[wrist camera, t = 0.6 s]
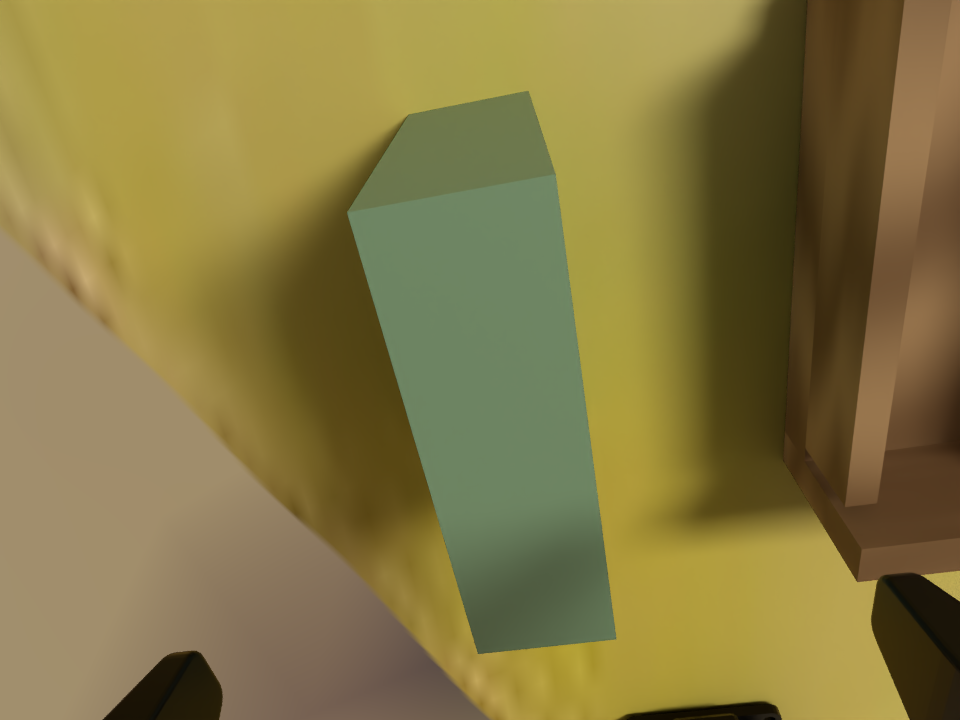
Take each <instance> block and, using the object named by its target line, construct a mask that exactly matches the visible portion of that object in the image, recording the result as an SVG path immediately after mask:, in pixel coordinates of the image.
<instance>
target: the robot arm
mask: <svg viewBox="0 0 960 720" xmlns="http://www.w3.org/2000/svg"><path fill="white" fill-rule="evenodd" d="M871 624H872V630H873V633H874V636H875V639H876V641H877V644H878V646H879V648H880V651H881V653H882V656H883V658H884V660H885V663H886V665H887V667H888V670H889V672H890V674H891V677H892V679H893V681H894V684H895V686H896V688H897V691H898V693H899V696H900V698H901V700H902V703H903V705H904V707H905V710H906V712H907V714H908V717H909V719H910V720H960V601H958V600H957V599H955V598H954V597H952V596H951V595H949V594H948V593H946V592H945V591H943V590H942V589H941V588H939V587H938V586H936V585H935V584H933V583H932V582H930V581H929V580H927V579H926V578H924V577H923V576H921V575H919V574H916V573H913V572H905V573H896V574H887V575H883V576H881V577H880V578H879V579H878V581H877V585H876V591H875V597H874V603H873V609H872V615H871ZM222 698H223V696H222V689H221V685H220V683H219V681H218V680H217V678H216V676H215V675H214V673H213V671H212V670H211V668H210V667H209V665H208V663H207V662H206V660H205V658H204V657H203V656H202V654H201V653H199V652H197V651H185V652H176V653H172V654H169V655H167V656H166V657H164V658H163V659H162V660H161V661H160V662H159V663H158V664H157V665H156V666H155V667H154V668H153V669H152V670H151V671H150V672H149V673H148V674H147V675H146V676H145V677H144V678H143V679H142V680H141V681H140V682H139V683H138V684H137V685H136V686H135V687H134V688H133V689H132V690H131V691H130V692H129V693H128V694H127V695H126V697H124V698H123V700H121V702H120V703H119V704H118V705H117V706H116V707H115V708H114V709H113V710H112V711H111V712H110V713H109V714H108V715H107V716H106V717H105V718H104V719H103V720H219V717H220V712H221V707H222ZM627 720H782V718H781V715H780V713H779V710H778V708H777V707H776V706H775V705H772V704H763V705H753V706H742V707H732V708H721V709H711V710H700V711H689V712H679V713H668V714H658V715H647V716H637V717H631V718H629V719H627Z"/></svg>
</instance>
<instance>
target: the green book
mask: <svg viewBox="0 0 960 720" xmlns="http://www.w3.org/2000/svg"><path fill="white" fill-rule="evenodd" d="M347 214H348V218H349V221H350V224H351V228H352V231H353V235H354V238H355V241H356V245H357V248H358V251H359V255H360V258H361V261H362V265H363V268H364V272H365V275H366V278H367V282H368V285H369V288H370V292H371V295H372V298H373V302H374V305H375V309H376V312H377V315H378V319H379V322H380V325H381V329H382V332H383V335H384V339H385V342H386V346H387V349H388V352H389V356H390V359H391V362H392V366H393V369H394V373H395V376H396V379H397V383H398V386H399V389H400V393H401V396H402V399H403V403H404V406H405V410H406V413H407V416H408V420H409V423H410V426H411V430H412V433H413V436H414V440H415V443H416V447H417V450H418V453H419V457H420V460H421V463H422V467H423V470H424V474H425V477H426V480H427V484H428V487H429V490H430V494H431V497H432V500H433V504H434V507H435V511H436V514H437V517H438V521H439V524H440V527H441V531H442V534H443V537H444V541H445V544H446V548H447V551H448V554H449V558H450V561H451V564H452V568H453V571H454V574H455V578H456V581H457V585H458V588H459V591H460V595H461V598H462V601H463V605H464V608H465V612H466V615H467V618H468V622H469V625H470V628H471V632H472V635H473V638H474V642H475V645H476V649H477V652H478V654H483V653H492V652H501V651H511V650H520V649H530V648H539V647H548V646H558V645H567V644H577V643H586V642H595V641H605V640H614V639H616V632H615V625H614V617H613V610H612V602H611V594H610V587H609V579H608V571H607V564H606V556H605V548H604V541H603V533H602V525H601V518H600V510H599V503H598V495H597V487H596V480H595V472H594V464H593V457H592V449H591V441H590V434H589V426H588V418H587V411H586V403H585V395H584V388H583V380H582V373H581V365H580V357H579V350H578V342H577V334H576V327H575V319H574V311H573V304H572V296H571V288H570V281H569V273H568V266H567V258H566V250H565V243H564V235H563V227H562V220H561V212H560V204H559V197H558V189H557V181H556V174H555V171H554V168H553V165H552V162H551V159H550V156H549V153H548V149H547V146H546V143H545V140H544V137H543V134H542V131H541V128H540V125H539V122H538V119H537V116H536V113H535V110H534V107H533V104H532V100H531V97H530V94H529V91H525V92H520V93H515V94H510V95H505V96H500V97H495V98H490V99H485V100H480V101H475V102H470V103H465V104H460V105H455V106H450V107H445V108H440V109H435V110H430V111H425V112H420V113H415V114H410V115H408V117H407V118H406V120H405V121H404V123H403V125H402V126H401V128H400V129H399V131H398V132H397V134H396V136H395V137H394V139H393V140H392V142H391V144H390V145H389V147H388V148H387V150H386V151H385V153H384V155H383V156H382V158H381V159H380V161H379V163H378V164H377V166H376V167H375V169H374V171H373V172H372V174H371V175H370V177H369V178H368V180H367V182H366V183H365V185H364V186H363V188H362V190H361V191H360V193H359V194H358V196H357V197H356V199H355V201H354V202H353V204H352V205H351V207H350V209H349V210H348V212H347Z"/></svg>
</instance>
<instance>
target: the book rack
mask: <svg viewBox="0 0 960 720" xmlns="http://www.w3.org/2000/svg"><path fill="white" fill-rule="evenodd" d="M783 461H784V463H785V464H786V466H787V468H788V469H789V471H790V472H791V474H792V476H793V477H794V479H795V481H796V482H797V484H798V486H799V487H800V489H801V491H802V492H803V494H804V495H805V497H806V499H807V500H808V502H809V504H810V505H811V507H812V509H813V510H814V512H815V513H816V515H817V517H818V518H819V520H820V522H821V523H822V525H823V527H824V528H825V530H826V532H827V533H828V535H829V536H830V538H831V540H832V541H833V543H834V545H835V546H836V548H837V550H838V551H839V553H840V555H841V556H842V558H843V559H844V561H845V563H846V564H847V566H848V568H849V569H850V571H851V573H852V574H853V576H854V578H855V579H856V581H857V582H863V581H871V580H878V579H879V578H880V577H881V576H883V575H887V574H896V573H905V572H913V573H916V574H919V575H925V574H934V573H943V572H952V571H960V0H808V2H807V21H806V40H805V59H804V78H803V97H802V116H801V135H800V154H799V173H798V192H797V211H796V230H795V249H794V268H793V287H792V306H791V325H790V344H789V363H788V382H787V401H786V420H785V439H784V458H783Z"/></svg>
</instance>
